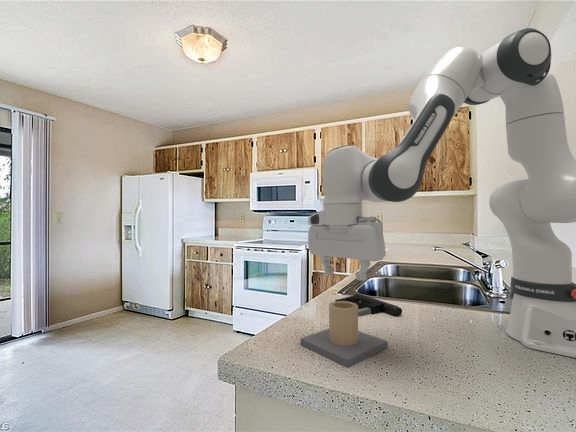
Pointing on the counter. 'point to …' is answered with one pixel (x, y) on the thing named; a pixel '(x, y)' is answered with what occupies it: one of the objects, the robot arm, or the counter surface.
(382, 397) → the counter surface
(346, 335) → the paper roll
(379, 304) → the black two-tone tubular device
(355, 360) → the roll holder
